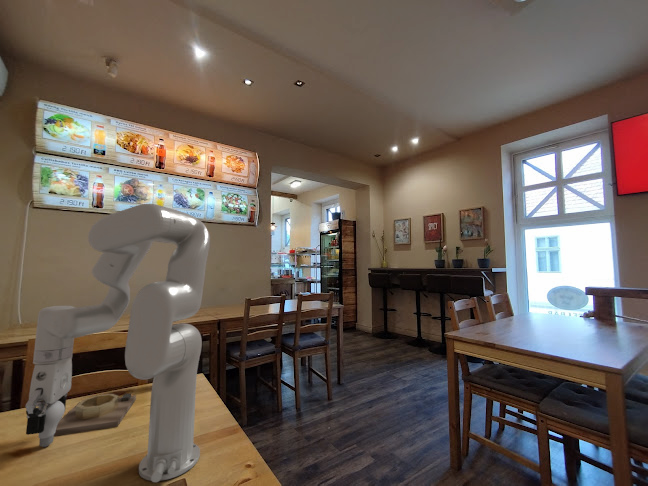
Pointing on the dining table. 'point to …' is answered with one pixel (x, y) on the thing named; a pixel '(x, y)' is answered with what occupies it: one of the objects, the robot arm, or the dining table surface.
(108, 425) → the lamp base
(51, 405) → the lightbulb
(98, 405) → the holder ring
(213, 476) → the dining table surface
